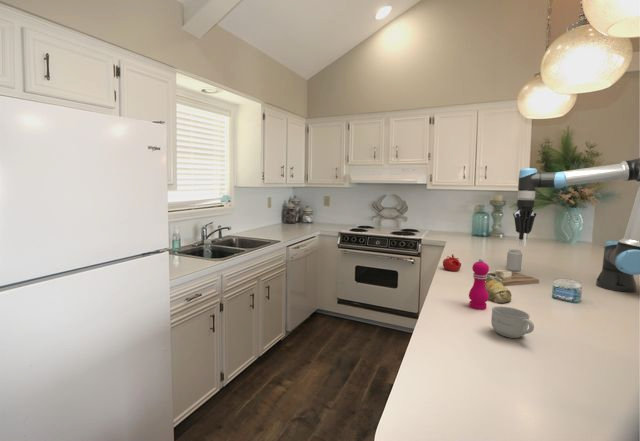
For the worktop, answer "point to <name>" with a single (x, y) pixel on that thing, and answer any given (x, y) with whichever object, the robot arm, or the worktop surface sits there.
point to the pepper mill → (479, 286)
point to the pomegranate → (451, 264)
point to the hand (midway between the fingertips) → (522, 245)
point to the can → (514, 260)
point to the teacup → (511, 321)
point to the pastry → (497, 292)
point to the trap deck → (513, 279)
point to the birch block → (503, 275)
